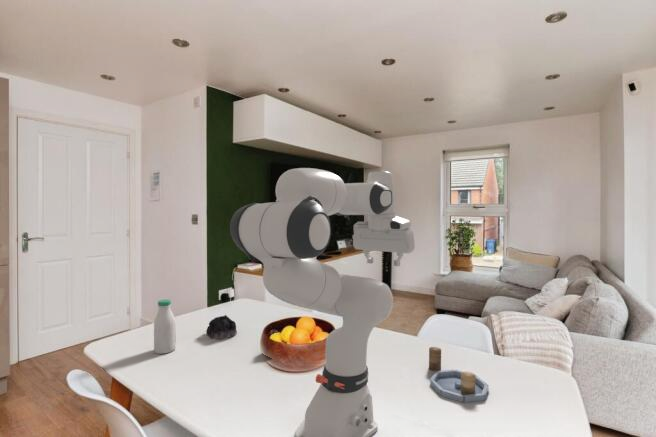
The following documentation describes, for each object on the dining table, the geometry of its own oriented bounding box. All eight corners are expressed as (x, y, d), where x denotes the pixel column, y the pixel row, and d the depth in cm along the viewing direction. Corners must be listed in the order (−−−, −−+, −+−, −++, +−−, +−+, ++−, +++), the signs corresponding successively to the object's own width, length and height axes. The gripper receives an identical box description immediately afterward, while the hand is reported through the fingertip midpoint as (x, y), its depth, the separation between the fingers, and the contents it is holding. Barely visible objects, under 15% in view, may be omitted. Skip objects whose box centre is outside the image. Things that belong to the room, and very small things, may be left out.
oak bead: (473, 399, 101) (474, 379, 100) (459, 395, 103) (459, 375, 103) (476, 393, 104) (476, 373, 104) (462, 389, 106) (463, 370, 106)
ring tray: (481, 412, 96) (481, 402, 96) (425, 394, 105) (425, 385, 105) (491, 387, 110) (491, 378, 109) (440, 373, 119) (440, 365, 118)
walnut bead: (438, 375, 117) (439, 352, 117) (427, 372, 119) (427, 349, 119) (442, 371, 121) (442, 348, 120) (430, 368, 123) (431, 345, 122)
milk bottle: (175, 352, 135) (174, 302, 134) (153, 355, 132) (152, 304, 131) (176, 345, 142) (175, 297, 141) (155, 348, 139) (154, 299, 138)
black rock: (213, 330, 161) (211, 310, 160) (242, 328, 160) (239, 308, 159) (202, 344, 148) (199, 322, 147) (233, 342, 147) (230, 319, 146)
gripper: (348, 222, 113) (350, 263, 114) (408, 224, 101) (409, 270, 103) (358, 220, 118) (359, 259, 120) (415, 221, 106) (416, 265, 108)
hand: (383, 264), depth 111 cm, fingers open, 8 cm apart
